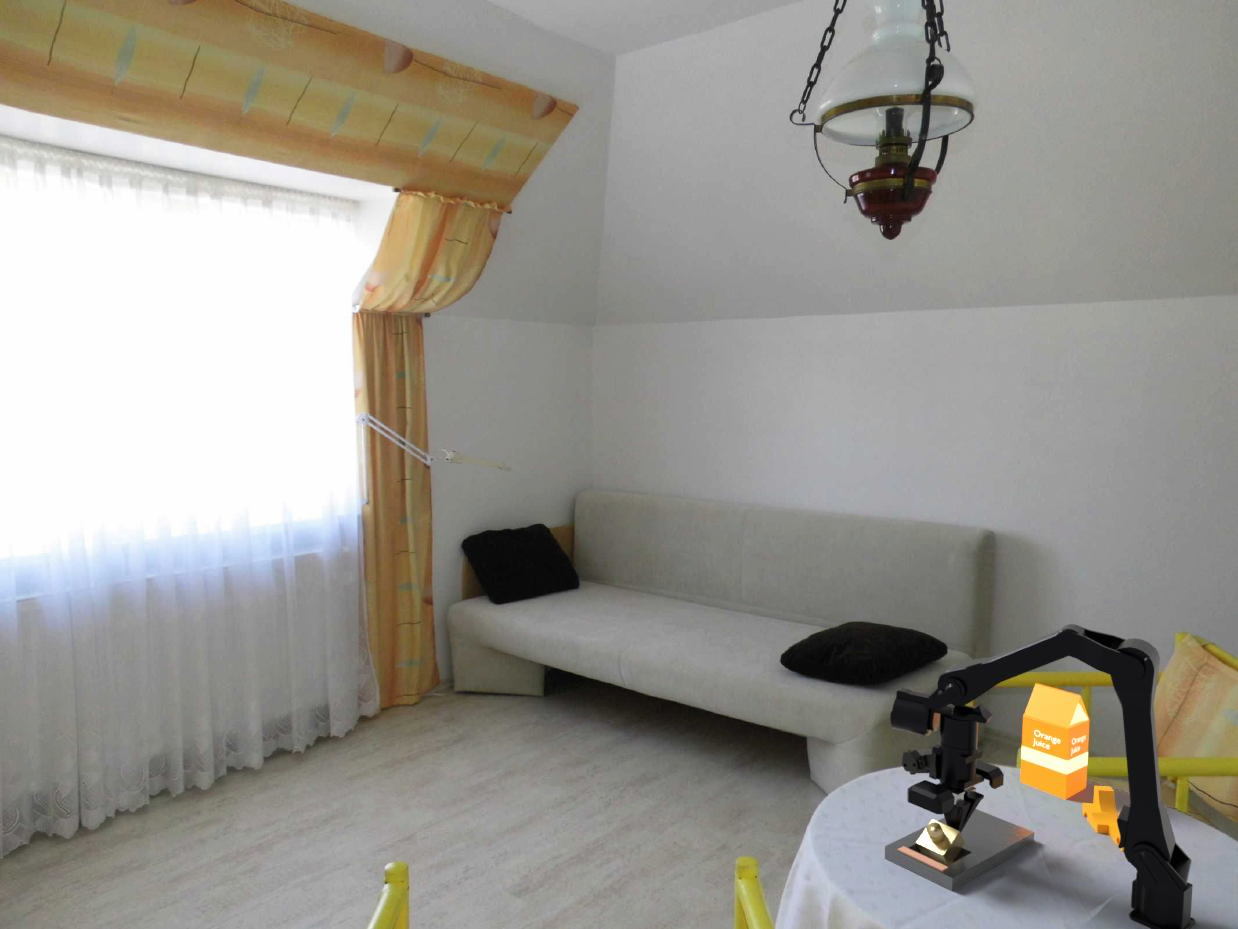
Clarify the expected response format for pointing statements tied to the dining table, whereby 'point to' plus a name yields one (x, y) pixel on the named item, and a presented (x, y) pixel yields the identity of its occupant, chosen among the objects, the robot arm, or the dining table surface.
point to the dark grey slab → (964, 850)
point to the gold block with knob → (940, 842)
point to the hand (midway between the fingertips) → (954, 836)
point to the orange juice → (1055, 742)
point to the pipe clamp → (1103, 813)
